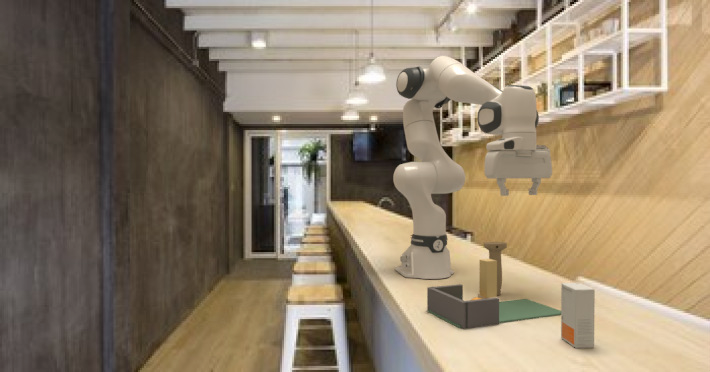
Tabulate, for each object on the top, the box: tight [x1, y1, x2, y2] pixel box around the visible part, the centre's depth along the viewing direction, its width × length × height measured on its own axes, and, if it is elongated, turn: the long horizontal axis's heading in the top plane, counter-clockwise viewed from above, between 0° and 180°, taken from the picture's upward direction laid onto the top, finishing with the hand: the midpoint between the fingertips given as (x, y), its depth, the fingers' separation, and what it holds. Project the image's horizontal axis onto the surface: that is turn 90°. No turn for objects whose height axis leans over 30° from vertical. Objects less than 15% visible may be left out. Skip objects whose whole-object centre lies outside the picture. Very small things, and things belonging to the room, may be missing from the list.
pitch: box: [426, 298, 561, 329], centre depth 128 cm, size 15×31×1 cm, turn 111°
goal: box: [426, 283, 500, 330], centre depth 124 cm, size 16×10×6 cm, turn 21°
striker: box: [477, 258, 498, 299], centre depth 126 cm, size 6×3×13 cm, turn 21°
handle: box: [483, 241, 508, 296], centre depth 146 cm, size 5×6×15 cm
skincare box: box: [560, 282, 596, 349], centre depth 105 cm, size 6×4×12 cm
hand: (518, 195), depth 138 cm, fingers open, 8 cm apart
